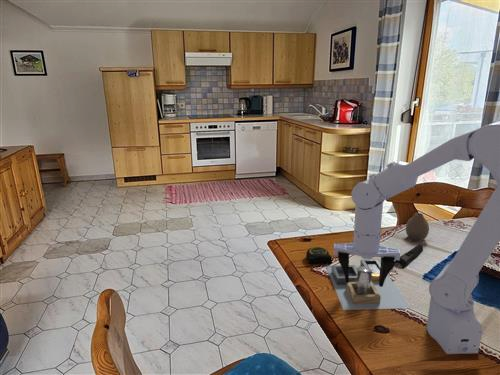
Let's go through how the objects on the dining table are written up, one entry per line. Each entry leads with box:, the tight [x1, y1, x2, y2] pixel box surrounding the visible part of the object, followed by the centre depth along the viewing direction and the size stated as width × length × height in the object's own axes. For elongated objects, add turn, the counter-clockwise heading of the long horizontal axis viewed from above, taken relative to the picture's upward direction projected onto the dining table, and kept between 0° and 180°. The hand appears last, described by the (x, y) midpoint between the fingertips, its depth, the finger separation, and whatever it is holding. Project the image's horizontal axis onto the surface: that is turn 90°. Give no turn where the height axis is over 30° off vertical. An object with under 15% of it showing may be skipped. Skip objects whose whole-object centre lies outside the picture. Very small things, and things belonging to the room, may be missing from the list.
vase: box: [405, 212, 430, 242], centre depth 109 cm, size 7×7×9 cm
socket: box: [331, 258, 381, 285], centre depth 89 cm, size 9×13×2 cm
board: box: [325, 265, 412, 311], centre depth 85 cm, size 19×16×1 cm
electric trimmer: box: [394, 244, 424, 269], centre depth 97 cm, size 4×15×3 cm, turn 131°
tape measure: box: [305, 246, 333, 266], centre depth 98 cm, size 7×7×4 cm
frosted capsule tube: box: [356, 267, 372, 295], centre depth 79 cm, size 3×3×7 cm
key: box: [367, 264, 380, 282], centre depth 88 cm, size 6×3×2 cm, turn 179°
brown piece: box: [347, 281, 381, 304], centre depth 80 cm, size 6×6×2 cm
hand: (363, 282), depth 79 cm, fingers open, 7 cm apart
